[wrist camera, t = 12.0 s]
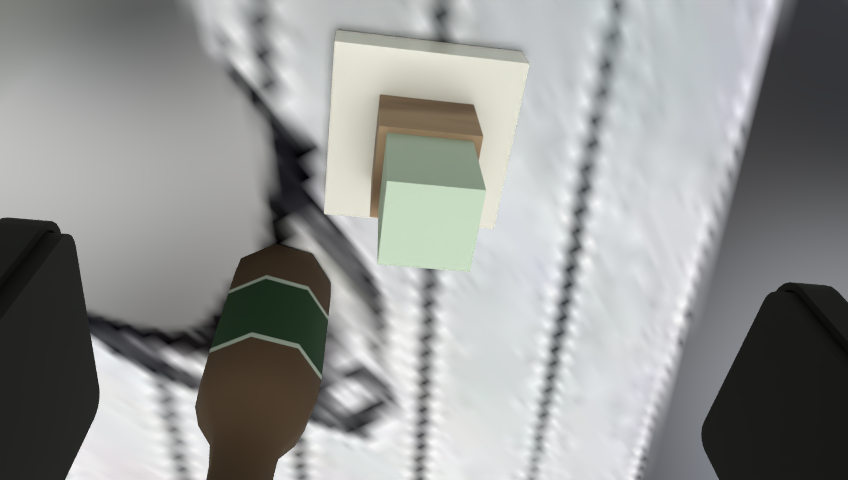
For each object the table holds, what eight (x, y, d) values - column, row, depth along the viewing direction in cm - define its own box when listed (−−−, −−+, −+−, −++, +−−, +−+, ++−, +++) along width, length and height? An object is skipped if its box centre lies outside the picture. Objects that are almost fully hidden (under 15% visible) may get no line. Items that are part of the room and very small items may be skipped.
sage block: (386, 132, 39) (387, 181, 34) (473, 141, 39) (486, 190, 34) (378, 208, 41) (377, 264, 36) (459, 215, 42) (469, 271, 37)
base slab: (336, 29, 43) (334, 41, 41) (522, 51, 44) (529, 63, 42) (326, 196, 49) (323, 213, 47) (489, 211, 50) (493, 228, 48)
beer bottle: (336, 319, 55) (309, 614, 35) (240, 323, 55) (156, 623, 35) (327, 238, 51) (289, 520, 31) (222, 242, 51) (116, 529, 31)
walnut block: (379, 94, 43) (379, 125, 38) (473, 104, 43) (483, 136, 39) (371, 179, 46) (369, 216, 42) (459, 187, 46) (466, 225, 42)
